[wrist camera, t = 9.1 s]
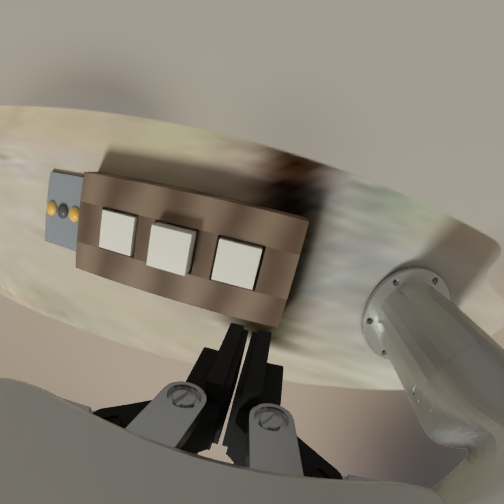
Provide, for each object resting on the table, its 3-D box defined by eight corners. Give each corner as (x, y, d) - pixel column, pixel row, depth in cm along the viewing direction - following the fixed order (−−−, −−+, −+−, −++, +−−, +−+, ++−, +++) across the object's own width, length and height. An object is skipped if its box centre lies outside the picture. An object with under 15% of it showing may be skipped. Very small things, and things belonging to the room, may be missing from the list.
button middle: (197, 230, 31) (191, 234, 29) (190, 269, 32) (184, 276, 30) (159, 221, 31) (151, 224, 29) (154, 259, 32) (146, 265, 30)
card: (87, 177, 33) (85, 178, 32) (80, 251, 36) (78, 252, 35) (52, 171, 33) (49, 171, 33) (46, 239, 36) (44, 240, 35)
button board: (306, 217, 32) (309, 221, 29) (278, 315, 35) (278, 327, 32) (97, 171, 33) (84, 172, 30) (88, 261, 36) (75, 267, 33)
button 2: (143, 215, 32) (134, 217, 30) (138, 251, 33) (130, 256, 31) (112, 207, 32) (102, 210, 30) (108, 242, 34) (98, 246, 31)
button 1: (263, 244, 32) (262, 249, 30) (254, 282, 33) (252, 289, 31) (223, 234, 32) (219, 238, 30) (215, 272, 33) (211, 279, 31)
